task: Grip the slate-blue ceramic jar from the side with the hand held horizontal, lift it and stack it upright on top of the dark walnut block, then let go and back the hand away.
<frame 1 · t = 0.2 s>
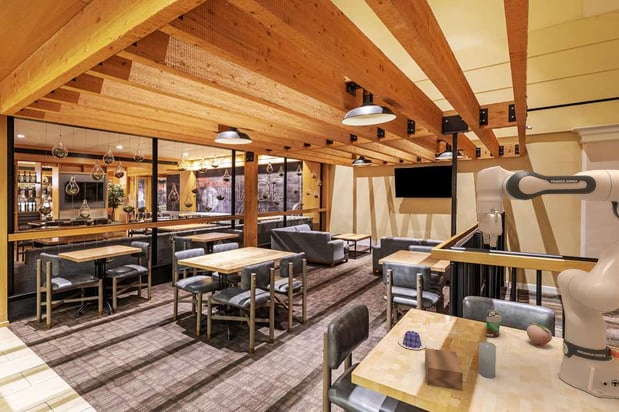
hand: (489, 245, 120), 47 cm above the table, tool pointing down, fingers open, 8 cm apart
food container: (494, 335, 151), on the table
decorative fruit: (538, 345, 140), on the table
walnut block: (442, 375, 115), on the table
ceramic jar: (486, 374, 117), on the table
pudding: (411, 345, 140), on the table
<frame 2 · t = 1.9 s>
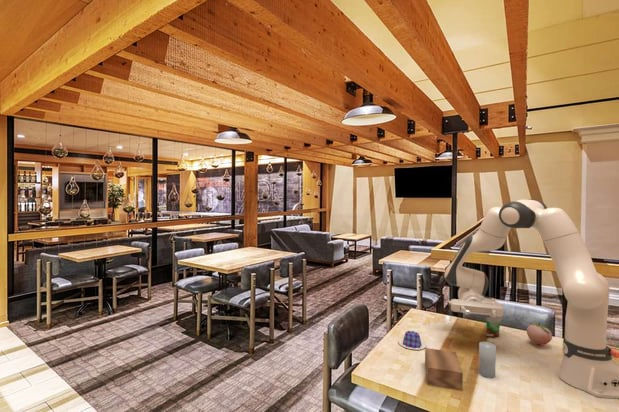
hand: (480, 314, 128), 18 cm above the table, tool horizontal, fingers open, 8 cm apart
nothing on the table moved.
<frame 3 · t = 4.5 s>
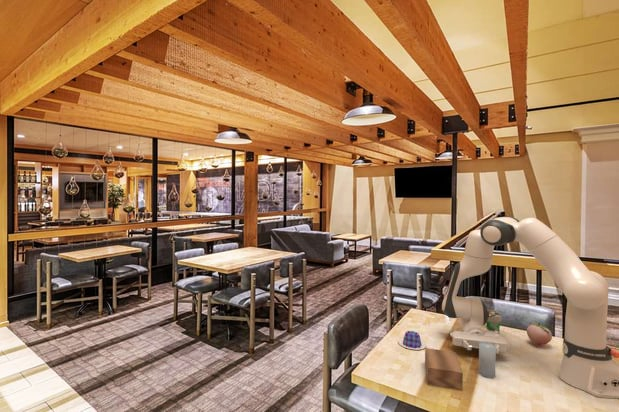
hand: (483, 350, 123), 6 cm above the table, tool horizontal, fingers open, 8 cm apart
nothing on the table moved.
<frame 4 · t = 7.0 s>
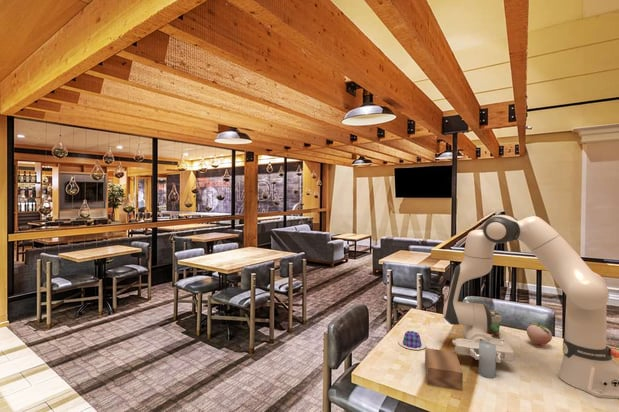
hand: (487, 359, 116), 6 cm above the table, tool horizontal, fingers closed on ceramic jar, 5 cm apart
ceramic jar: (486, 374, 117), on the table, touching gripper
everything else where it was.
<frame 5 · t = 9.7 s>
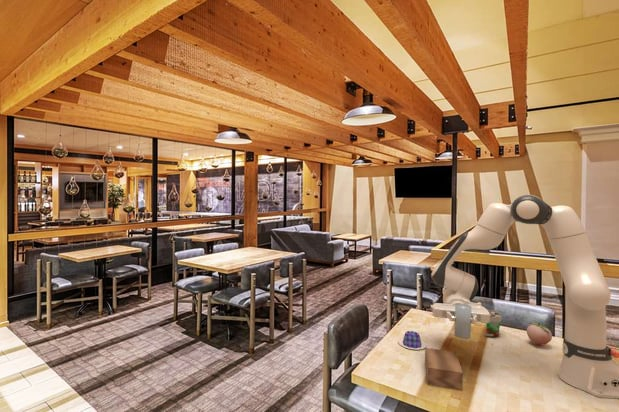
hand: (463, 320, 115), 20 cm above the table, tool horizontal, fingers closed on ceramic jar, 5 cm apart
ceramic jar: (462, 335, 116), point 14 cm above the table, touching gripper
everything else where it was.
when the fingers open (13 cm above the table, at t = 12.8 s): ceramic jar stays where it is, resting on walnut block.
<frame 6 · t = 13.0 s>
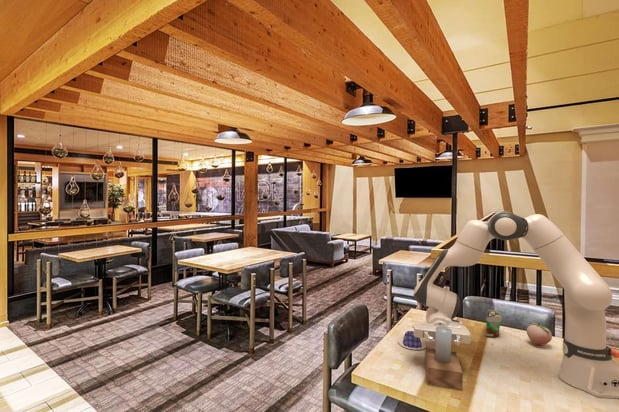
hand: (443, 341, 114), 13 cm above the table, tool horizontal, fingers open, 8 cm apart
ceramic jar: (442, 359, 115), point 6 cm above the table, touching walnut block
everything else where it was.
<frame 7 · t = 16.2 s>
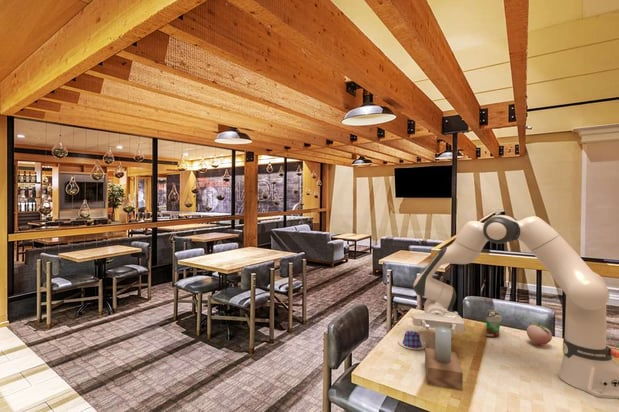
hand: (439, 329, 125), 13 cm above the table, tool horizontal, fingers open, 8 cm apart
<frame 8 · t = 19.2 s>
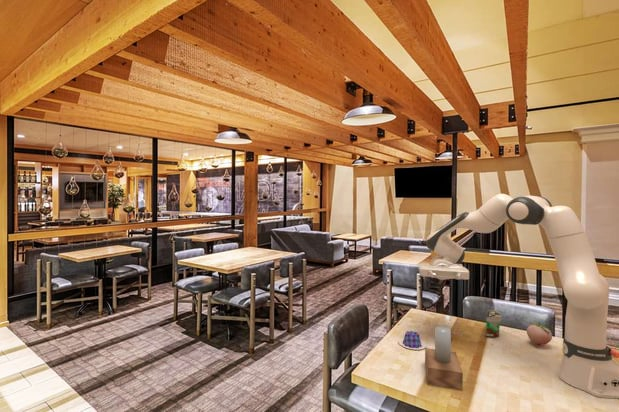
hand: (445, 276, 133), 32 cm above the table, tool horizontal, fingers open, 8 cm apart
at the end: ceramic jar inside the target area on the walnut block (0.1 cm from its centre), point 6.0 cm above the walnut block's base; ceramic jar tilted 1°; the gripper is holding nothing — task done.
